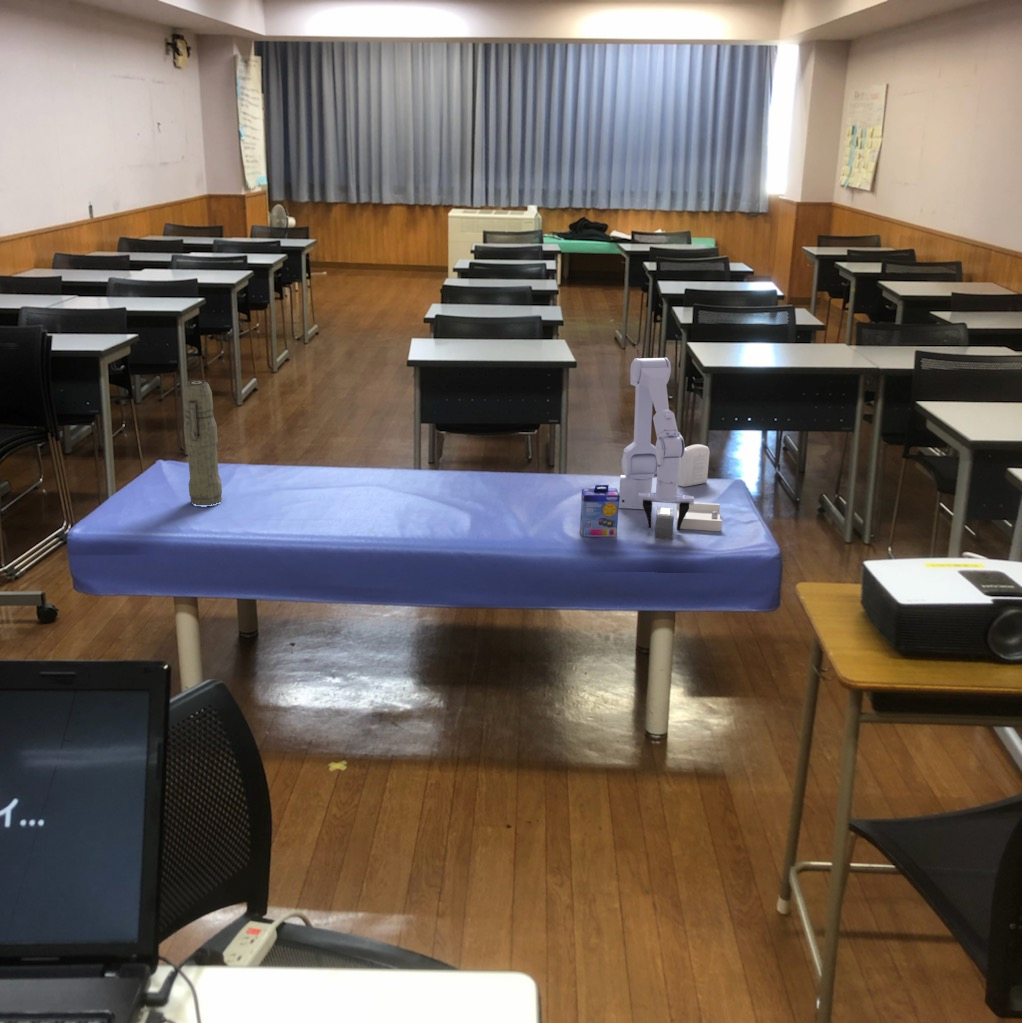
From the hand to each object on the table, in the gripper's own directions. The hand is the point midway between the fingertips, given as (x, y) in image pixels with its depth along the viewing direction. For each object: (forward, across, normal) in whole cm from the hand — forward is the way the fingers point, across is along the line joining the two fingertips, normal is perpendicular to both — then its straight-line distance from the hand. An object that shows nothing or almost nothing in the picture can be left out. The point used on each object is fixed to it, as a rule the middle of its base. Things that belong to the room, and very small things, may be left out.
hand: (664, 527), depth 291 cm
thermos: (+2, -130, 0) cm, 130 cm away
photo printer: (+2, +8, +44) cm, 45 cm away
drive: (+2, 0, 0) cm, 2 cm away
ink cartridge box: (+2, -18, -4) cm, 18 cm away
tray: (+1, +10, +11) cm, 15 cm away
